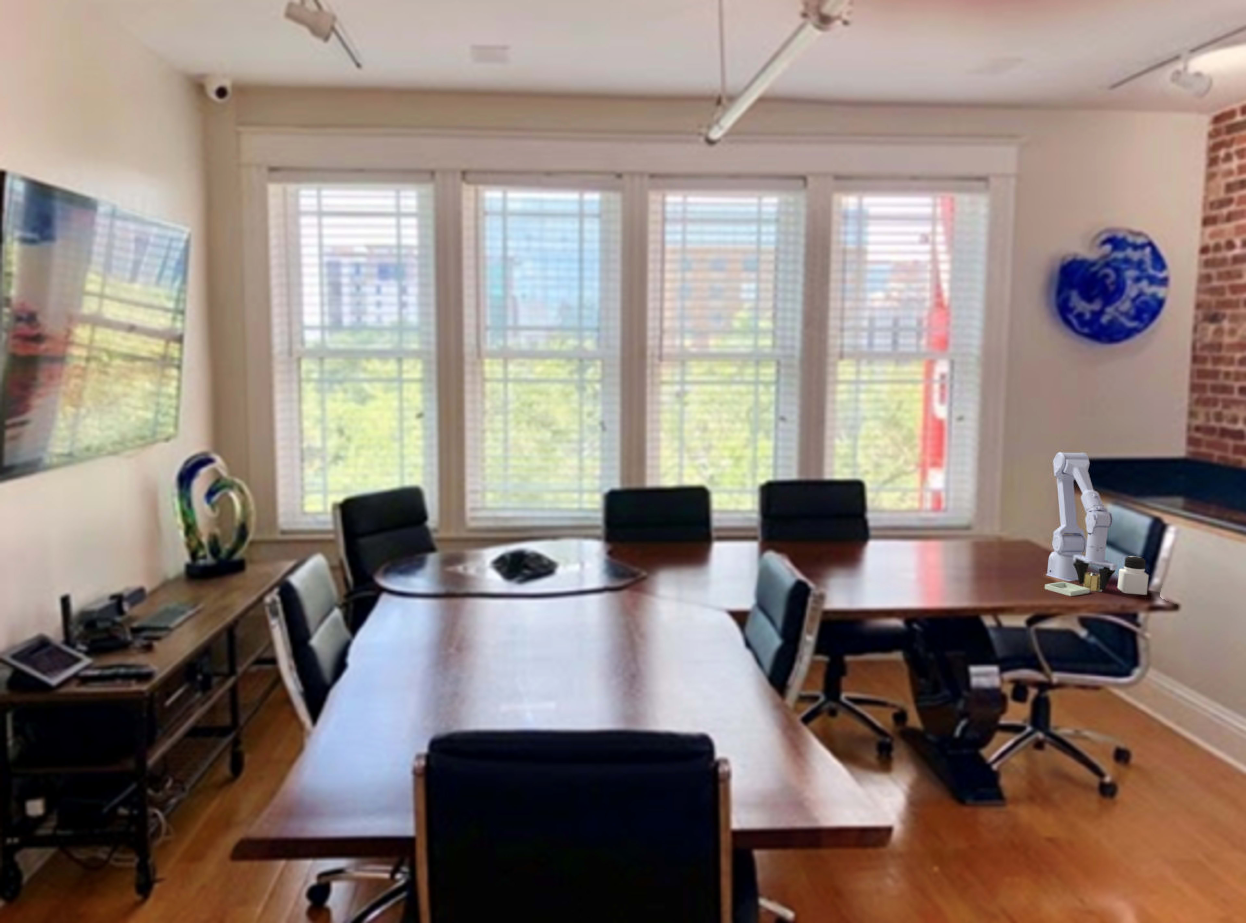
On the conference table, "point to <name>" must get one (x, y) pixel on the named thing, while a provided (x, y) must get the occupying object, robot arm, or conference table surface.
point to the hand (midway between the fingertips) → (1092, 586)
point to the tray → (1067, 588)
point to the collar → (1092, 582)
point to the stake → (1094, 575)
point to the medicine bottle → (1133, 576)
